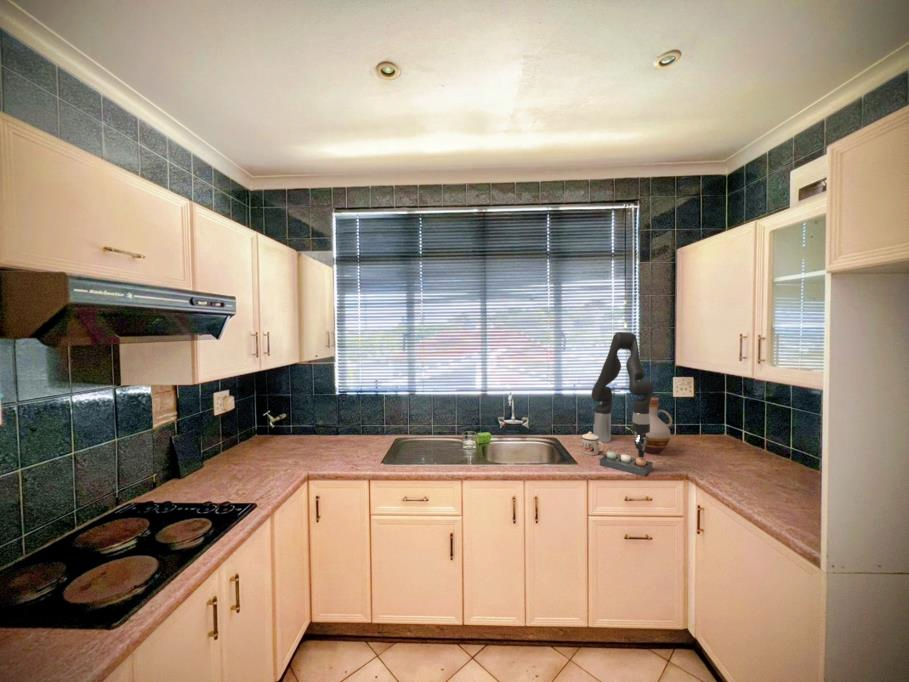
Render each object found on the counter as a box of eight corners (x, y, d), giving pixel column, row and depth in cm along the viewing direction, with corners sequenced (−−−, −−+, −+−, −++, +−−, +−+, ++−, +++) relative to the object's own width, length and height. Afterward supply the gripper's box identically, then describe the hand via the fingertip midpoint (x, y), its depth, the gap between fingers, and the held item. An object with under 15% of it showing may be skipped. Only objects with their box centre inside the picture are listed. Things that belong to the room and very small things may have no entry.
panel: (599, 465, 182) (599, 459, 182) (609, 458, 191) (609, 452, 191) (644, 476, 167) (644, 470, 167) (652, 468, 177) (652, 462, 176)
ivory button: (619, 462, 179) (619, 455, 179) (622, 460, 182) (622, 453, 182) (628, 465, 176) (628, 458, 176) (631, 462, 179) (631, 455, 179)
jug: (664, 446, 208) (664, 395, 207) (680, 457, 190) (680, 401, 189) (629, 445, 210) (629, 395, 209) (641, 456, 192) (642, 401, 191)
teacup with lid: (578, 452, 200) (578, 432, 199) (585, 448, 206) (585, 428, 206) (600, 458, 191) (600, 436, 191) (606, 453, 198) (606, 432, 197)
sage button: (605, 459, 184) (605, 452, 184) (608, 457, 187) (608, 450, 187) (614, 461, 181) (614, 454, 181) (617, 459, 184) (617, 452, 184)
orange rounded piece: (634, 466, 174) (634, 459, 174) (637, 463, 177) (637, 456, 177) (644, 468, 171) (644, 461, 171) (647, 466, 174) (647, 459, 174)
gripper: (637, 417, 181) (637, 451, 181) (628, 423, 171) (628, 458, 172) (653, 420, 176) (653, 455, 176) (645, 425, 166) (645, 462, 167)
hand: (641, 456), depth 174 cm, fingers closed
